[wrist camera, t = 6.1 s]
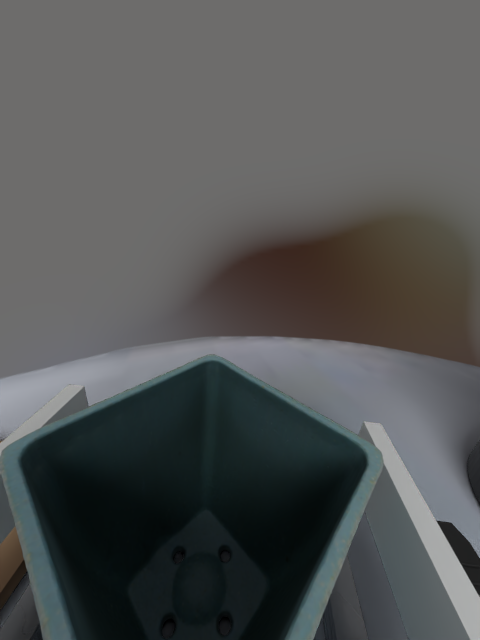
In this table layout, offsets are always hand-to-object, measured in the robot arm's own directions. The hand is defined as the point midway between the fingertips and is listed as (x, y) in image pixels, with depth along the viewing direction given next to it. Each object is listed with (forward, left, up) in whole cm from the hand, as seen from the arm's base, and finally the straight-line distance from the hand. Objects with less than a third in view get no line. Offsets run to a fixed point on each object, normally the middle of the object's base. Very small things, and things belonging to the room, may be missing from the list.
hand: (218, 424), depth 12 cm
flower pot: (0, +3, -7) cm, 7 cm away
